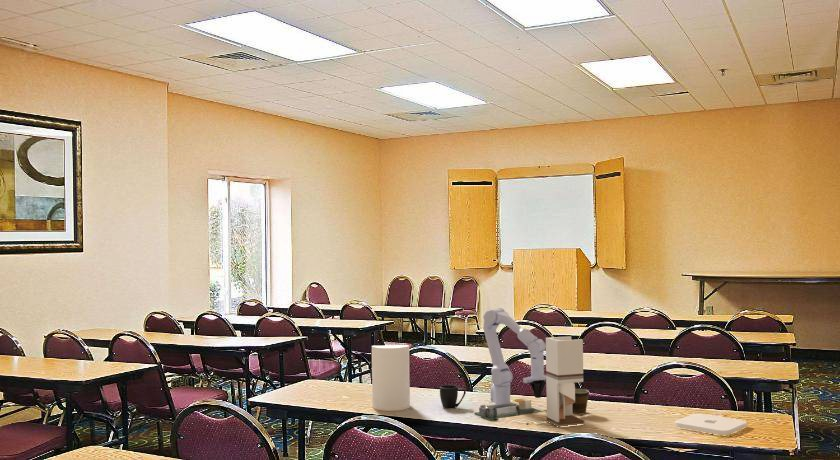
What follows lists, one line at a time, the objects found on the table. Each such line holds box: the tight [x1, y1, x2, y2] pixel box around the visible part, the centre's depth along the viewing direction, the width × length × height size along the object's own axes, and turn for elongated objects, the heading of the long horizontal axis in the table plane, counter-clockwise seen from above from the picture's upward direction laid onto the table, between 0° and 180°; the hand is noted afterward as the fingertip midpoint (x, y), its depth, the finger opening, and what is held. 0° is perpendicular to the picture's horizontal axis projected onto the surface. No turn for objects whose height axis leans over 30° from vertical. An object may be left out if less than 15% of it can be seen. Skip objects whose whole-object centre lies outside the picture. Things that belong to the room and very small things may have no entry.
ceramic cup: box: [572, 388, 590, 415], centre depth 323 cm, size 13×10×10 cm
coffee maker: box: [545, 336, 585, 428], centre depth 307 cm, size 11×11×35 cm
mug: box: [439, 384, 467, 410], centre depth 339 cm, size 8×12×10 cm
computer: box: [674, 413, 748, 435], centre depth 298 cm, size 22×22×3 cm
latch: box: [514, 397, 532, 410], centre depth 329 cm, size 5×5×5 cm
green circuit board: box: [473, 403, 544, 422], centre depth 325 cm, size 14×28×4 cm, turn 118°
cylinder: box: [371, 344, 411, 412], centre depth 343 cm, size 17×17×28 cm
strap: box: [483, 402, 517, 410], centre depth 323 cm, size 4×15×1 cm, turn 118°
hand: (537, 397), depth 332 cm, fingers closed
